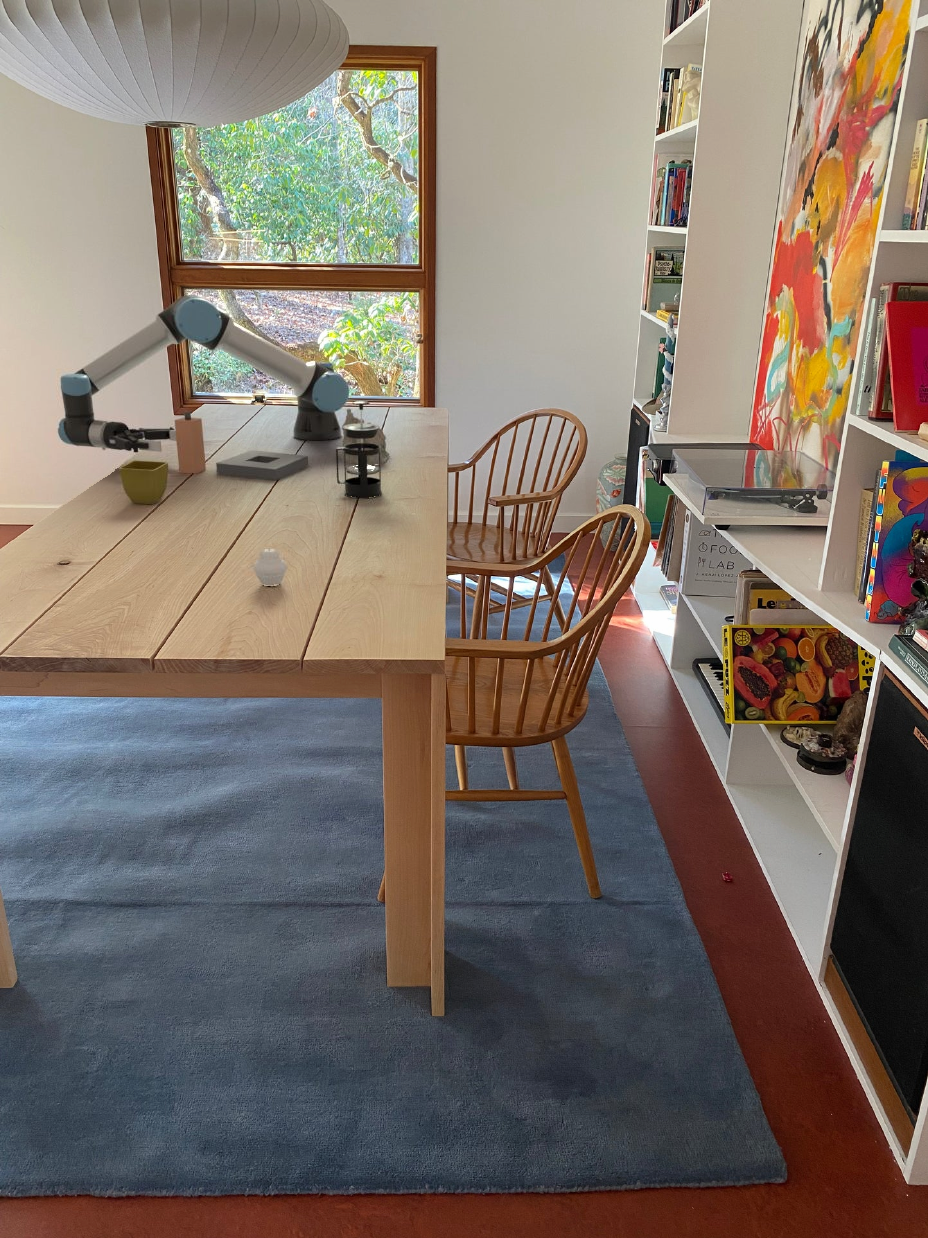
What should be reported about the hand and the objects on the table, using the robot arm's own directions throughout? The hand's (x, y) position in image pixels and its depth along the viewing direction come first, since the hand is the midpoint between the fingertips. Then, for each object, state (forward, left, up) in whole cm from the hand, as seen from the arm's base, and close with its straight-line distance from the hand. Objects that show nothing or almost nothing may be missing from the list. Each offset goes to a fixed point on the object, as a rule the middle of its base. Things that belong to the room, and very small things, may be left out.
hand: (175, 441), depth 254 cm
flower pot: (+13, +31, -8) cm, 34 cm away
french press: (-37, +43, -8) cm, 57 cm away
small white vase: (+1, +99, -8) cm, 99 cm away
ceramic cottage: (-53, +5, -8) cm, 54 cm away
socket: (-21, +9, -8) cm, 24 cm away
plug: (-3, +3, -8) cm, 9 cm away
